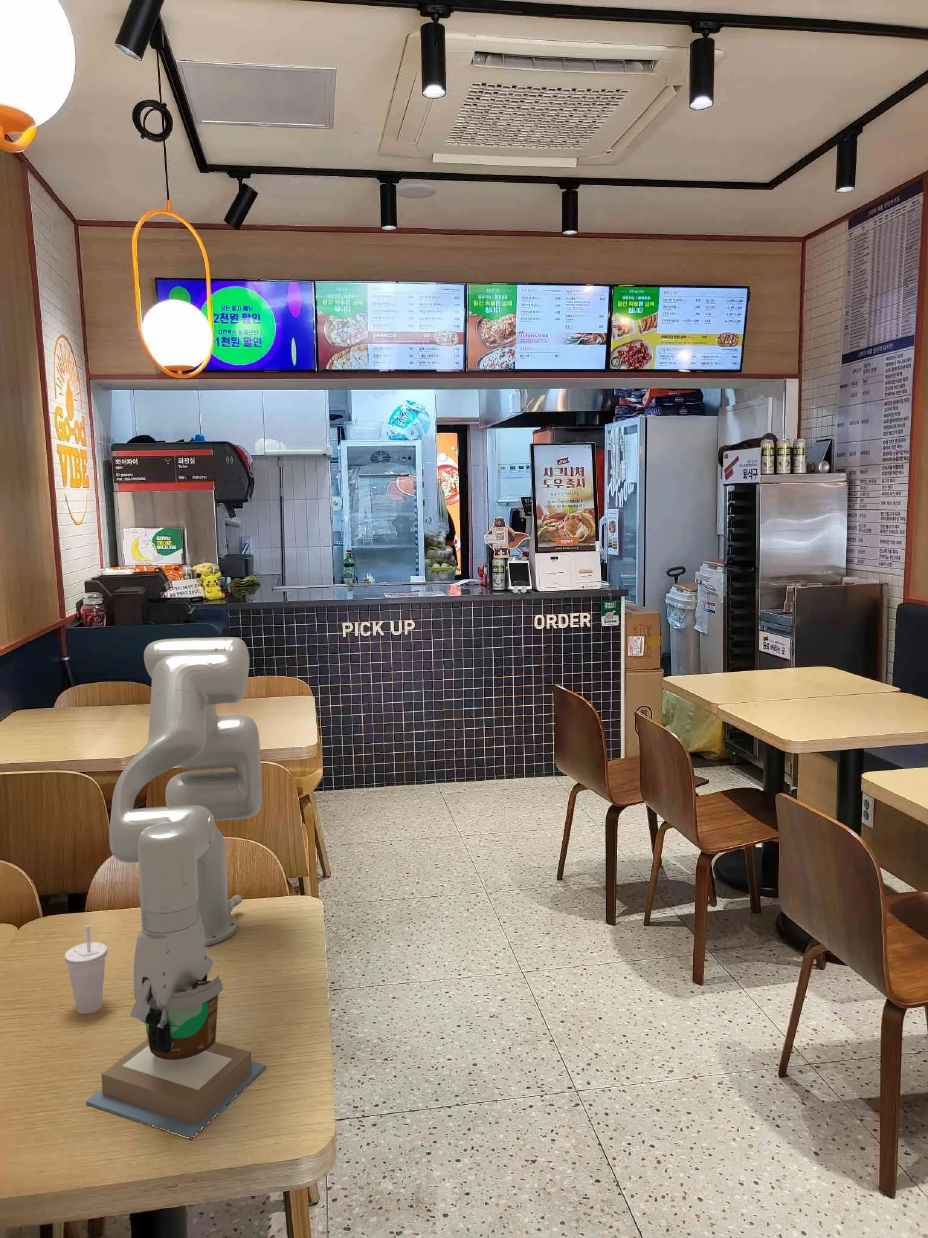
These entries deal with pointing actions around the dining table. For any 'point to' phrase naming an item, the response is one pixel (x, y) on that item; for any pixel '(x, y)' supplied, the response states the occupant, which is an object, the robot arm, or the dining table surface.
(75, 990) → the smoothie
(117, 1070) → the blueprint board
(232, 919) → the robot arm
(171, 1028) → the food container
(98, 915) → the dining table surface
